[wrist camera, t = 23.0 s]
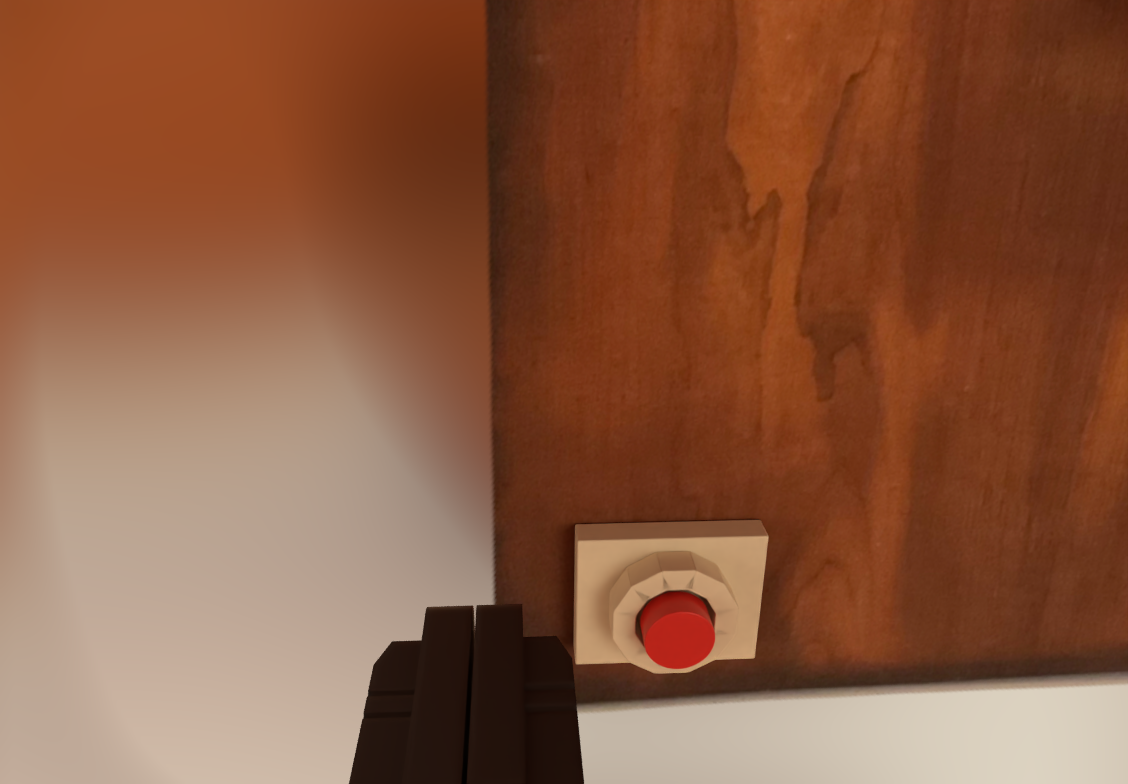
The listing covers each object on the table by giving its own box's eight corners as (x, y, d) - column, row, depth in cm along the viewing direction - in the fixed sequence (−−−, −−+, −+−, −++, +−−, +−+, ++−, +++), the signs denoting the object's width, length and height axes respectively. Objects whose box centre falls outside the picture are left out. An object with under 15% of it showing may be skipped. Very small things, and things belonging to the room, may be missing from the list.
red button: (638, 648, 47) (643, 671, 45) (641, 591, 45) (646, 612, 43) (705, 646, 47) (713, 668, 45) (710, 589, 45) (718, 610, 44)
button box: (573, 644, 50) (577, 688, 47) (574, 523, 47) (579, 561, 44) (747, 639, 51) (763, 681, 47) (760, 518, 47) (778, 555, 44)
